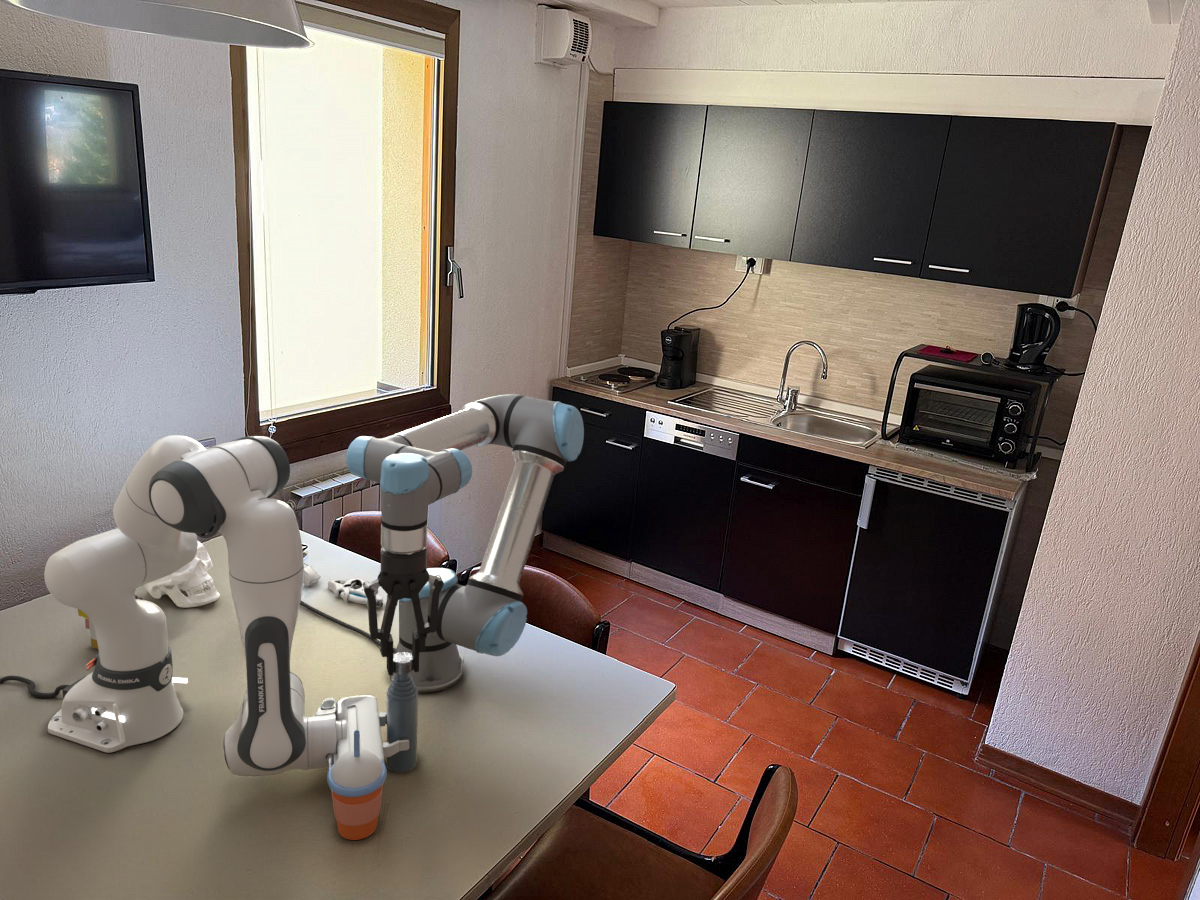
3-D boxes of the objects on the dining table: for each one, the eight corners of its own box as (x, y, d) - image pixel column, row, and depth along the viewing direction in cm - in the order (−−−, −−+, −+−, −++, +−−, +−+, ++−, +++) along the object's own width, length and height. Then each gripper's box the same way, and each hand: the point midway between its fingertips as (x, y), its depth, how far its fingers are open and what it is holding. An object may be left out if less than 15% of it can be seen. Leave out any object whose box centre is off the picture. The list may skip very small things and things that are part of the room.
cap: (396, 661, 151) (396, 650, 150) (417, 664, 150) (417, 653, 150) (387, 672, 147) (387, 661, 147) (409, 676, 147) (409, 665, 146)
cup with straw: (370, 852, 133) (370, 755, 128) (317, 840, 135) (314, 743, 130) (395, 813, 142) (396, 720, 137) (345, 802, 144) (343, 710, 138)
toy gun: (401, 592, 212) (372, 604, 203) (400, 601, 212) (371, 613, 204) (347, 571, 220) (317, 582, 212) (347, 580, 221) (317, 592, 212)
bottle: (387, 753, 157) (387, 653, 150) (417, 752, 158) (418, 653, 152) (385, 772, 152) (386, 670, 145) (416, 771, 153) (418, 669, 146)
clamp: (253, 565, 223) (254, 542, 221) (265, 560, 226) (266, 537, 224) (309, 593, 215) (310, 569, 213) (320, 588, 218) (321, 564, 216)
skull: (199, 617, 197) (196, 553, 193) (122, 598, 203) (118, 535, 198) (238, 594, 209) (237, 534, 205) (165, 577, 215) (162, 518, 211)
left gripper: (326, 763, 138) (413, 752, 143) (325, 692, 157) (402, 684, 161) (327, 796, 140) (412, 784, 145) (325, 722, 159) (401, 713, 163)
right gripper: (449, 533, 148) (446, 652, 155) (349, 541, 142) (350, 664, 149) (458, 551, 142) (454, 674, 149) (354, 559, 136) (355, 688, 143)
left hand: (407, 731), depth 153 cm, fingers closed on bottle, 5 cm apart
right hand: (402, 669), depth 149 cm, fingers closed on cap, 4 cm apart
